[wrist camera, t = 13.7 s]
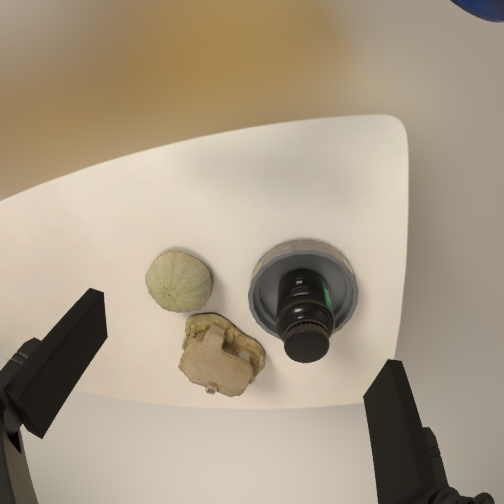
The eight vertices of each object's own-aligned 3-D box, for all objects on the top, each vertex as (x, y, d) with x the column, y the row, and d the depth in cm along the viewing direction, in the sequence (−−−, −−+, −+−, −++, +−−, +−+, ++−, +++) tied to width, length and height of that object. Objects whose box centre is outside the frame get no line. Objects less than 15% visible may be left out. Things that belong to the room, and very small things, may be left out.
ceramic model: (173, 348, 50) (155, 391, 41) (195, 302, 46) (176, 346, 37) (247, 381, 52) (240, 426, 43) (279, 340, 47) (277, 389, 38)
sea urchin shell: (214, 317, 44) (164, 333, 39) (187, 289, 49) (141, 301, 44) (221, 261, 40) (164, 274, 35) (190, 237, 45) (140, 246, 40)
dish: (287, 218, 39) (287, 228, 36) (373, 272, 41) (379, 285, 38) (233, 298, 45) (229, 312, 41) (313, 340, 47) (314, 356, 43)
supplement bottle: (329, 266, 41) (343, 321, 30) (325, 309, 43) (334, 369, 33) (277, 266, 41) (274, 321, 30) (277, 309, 44) (273, 369, 33)
